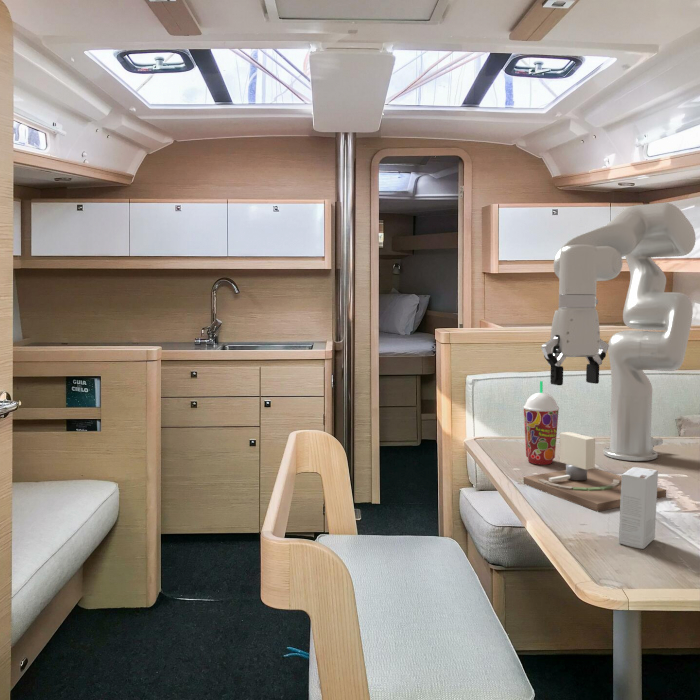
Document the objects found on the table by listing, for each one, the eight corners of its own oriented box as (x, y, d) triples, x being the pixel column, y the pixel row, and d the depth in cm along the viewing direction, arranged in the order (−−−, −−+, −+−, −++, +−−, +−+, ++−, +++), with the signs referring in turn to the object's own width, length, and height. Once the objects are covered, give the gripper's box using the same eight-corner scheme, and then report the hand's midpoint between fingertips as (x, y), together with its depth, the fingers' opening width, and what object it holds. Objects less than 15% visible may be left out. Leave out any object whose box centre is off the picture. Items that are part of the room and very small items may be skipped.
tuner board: (587, 472, 156) (588, 464, 156) (666, 496, 137) (666, 488, 137) (523, 483, 148) (523, 475, 148) (597, 511, 129) (597, 502, 129)
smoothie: (539, 468, 160) (540, 384, 159) (515, 460, 168) (516, 380, 166) (565, 463, 164) (566, 382, 162) (541, 456, 172) (542, 378, 170)
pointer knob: (571, 472, 150) (571, 431, 149) (597, 480, 143) (598, 437, 143) (537, 477, 146) (538, 435, 145) (563, 486, 139) (563, 442, 138)
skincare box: (629, 533, 117) (631, 465, 116) (656, 539, 114) (658, 469, 113) (617, 544, 113) (619, 473, 111) (645, 551, 110) (647, 477, 109)
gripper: (595, 304, 150) (593, 380, 152) (532, 303, 144) (530, 383, 145) (621, 304, 144) (618, 384, 145) (556, 303, 137) (554, 387, 138)
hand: (574, 383), depth 145 cm, fingers open, 9 cm apart
